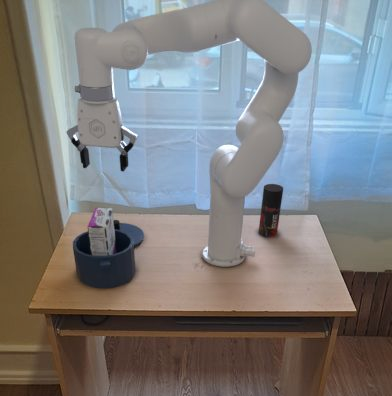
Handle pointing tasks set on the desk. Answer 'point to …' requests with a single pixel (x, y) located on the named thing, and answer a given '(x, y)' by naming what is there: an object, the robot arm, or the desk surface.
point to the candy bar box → (102, 232)
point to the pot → (105, 262)
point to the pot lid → (130, 231)
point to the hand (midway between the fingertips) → (105, 167)
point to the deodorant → (270, 210)
